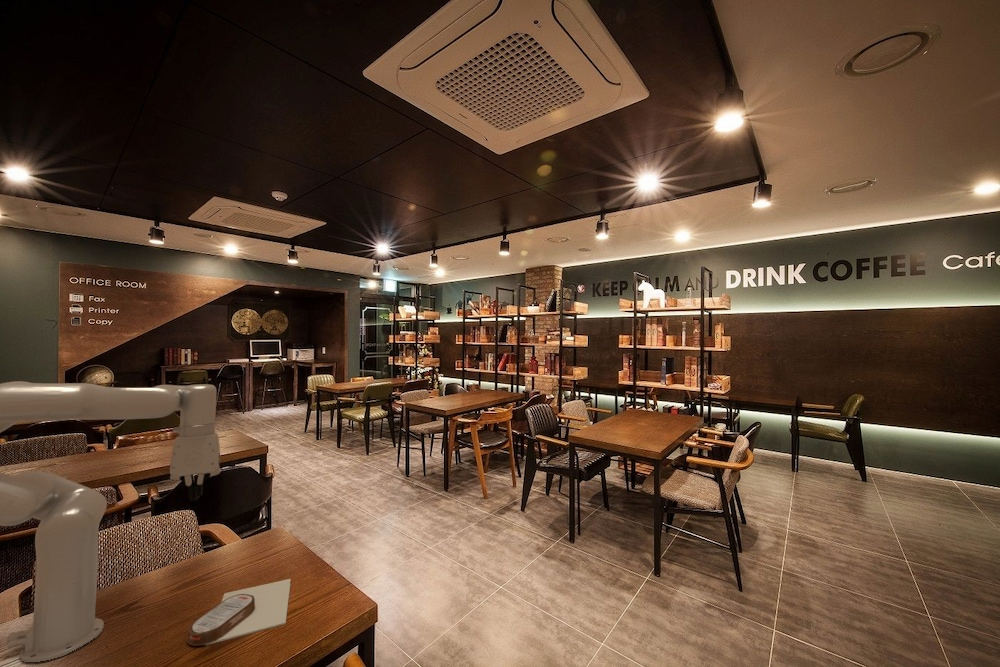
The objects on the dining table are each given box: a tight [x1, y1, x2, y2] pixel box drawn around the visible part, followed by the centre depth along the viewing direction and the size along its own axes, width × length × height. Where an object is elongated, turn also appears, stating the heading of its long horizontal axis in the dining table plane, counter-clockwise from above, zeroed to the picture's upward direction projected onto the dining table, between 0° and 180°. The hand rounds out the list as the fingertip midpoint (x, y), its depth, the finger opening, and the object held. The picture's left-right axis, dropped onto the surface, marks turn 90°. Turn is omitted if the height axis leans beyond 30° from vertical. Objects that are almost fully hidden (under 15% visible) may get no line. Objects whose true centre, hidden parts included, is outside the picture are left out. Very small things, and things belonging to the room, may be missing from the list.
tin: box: [186, 594, 255, 647], centre depth 93 cm, size 15×3×8 cm
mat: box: [204, 578, 292, 646], centre depth 99 cm, size 16×20×1 cm
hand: (194, 498), depth 103 cm, fingers closed
